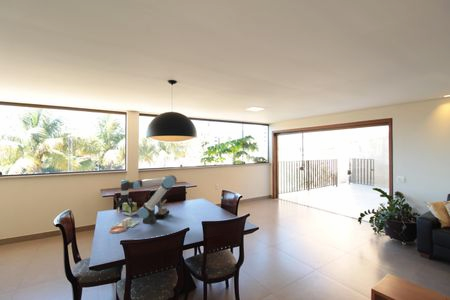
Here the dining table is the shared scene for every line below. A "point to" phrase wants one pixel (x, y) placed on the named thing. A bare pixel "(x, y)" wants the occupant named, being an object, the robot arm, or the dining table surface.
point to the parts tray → (128, 224)
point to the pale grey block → (124, 222)
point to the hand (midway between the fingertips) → (124, 213)
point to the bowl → (117, 229)
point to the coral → (161, 210)
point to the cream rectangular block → (128, 220)
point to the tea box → (127, 209)
